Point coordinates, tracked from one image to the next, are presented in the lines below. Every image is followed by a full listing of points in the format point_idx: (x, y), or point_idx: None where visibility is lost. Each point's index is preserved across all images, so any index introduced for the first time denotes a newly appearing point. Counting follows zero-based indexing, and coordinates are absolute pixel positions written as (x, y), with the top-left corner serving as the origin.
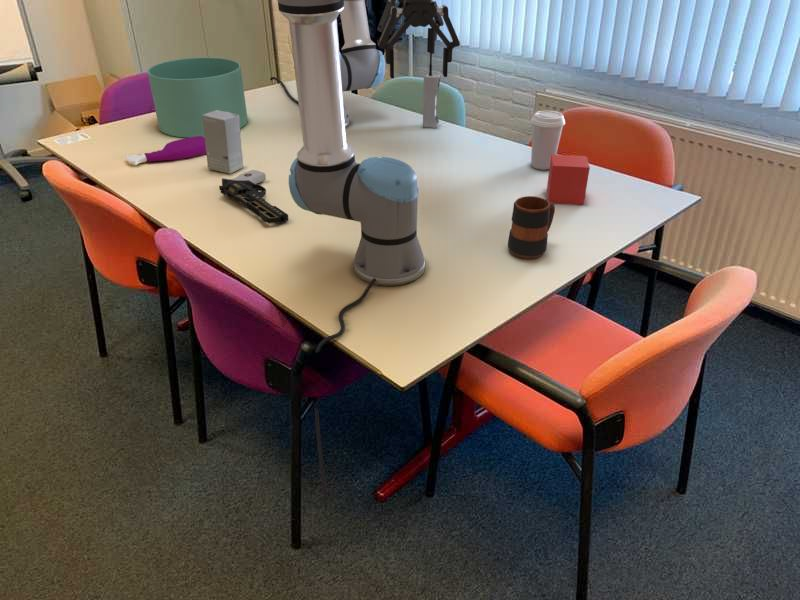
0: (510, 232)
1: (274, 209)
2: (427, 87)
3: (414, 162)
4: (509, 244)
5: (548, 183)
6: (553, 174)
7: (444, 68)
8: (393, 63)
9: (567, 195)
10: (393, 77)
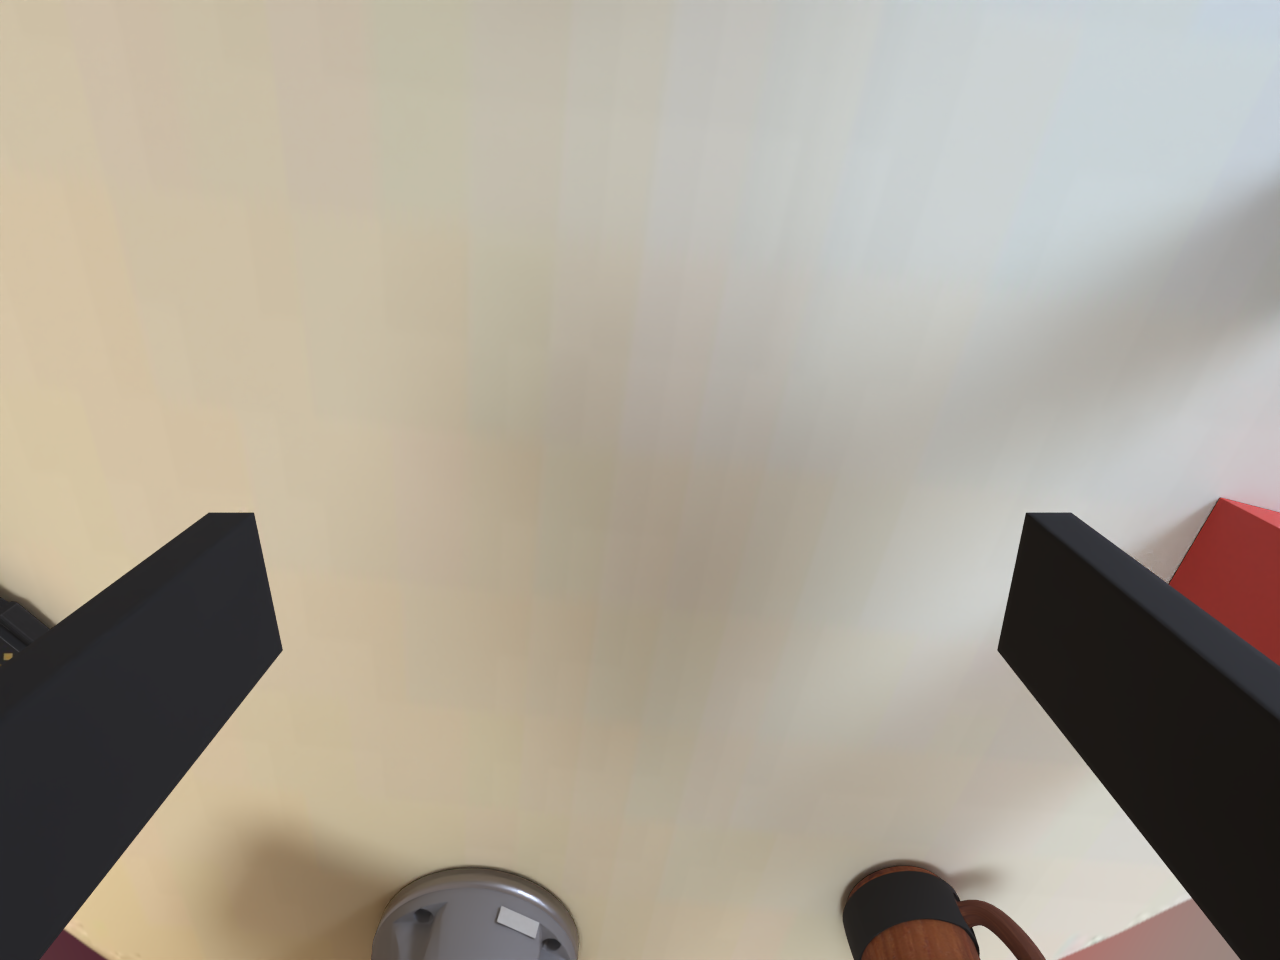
0: (862, 952)
1: (7, 656)
2: None
3: (665, 11)
4: (847, 933)
5: (1235, 559)
6: None
7: (1058, 723)
8: (152, 805)
9: None
10: (270, 659)
